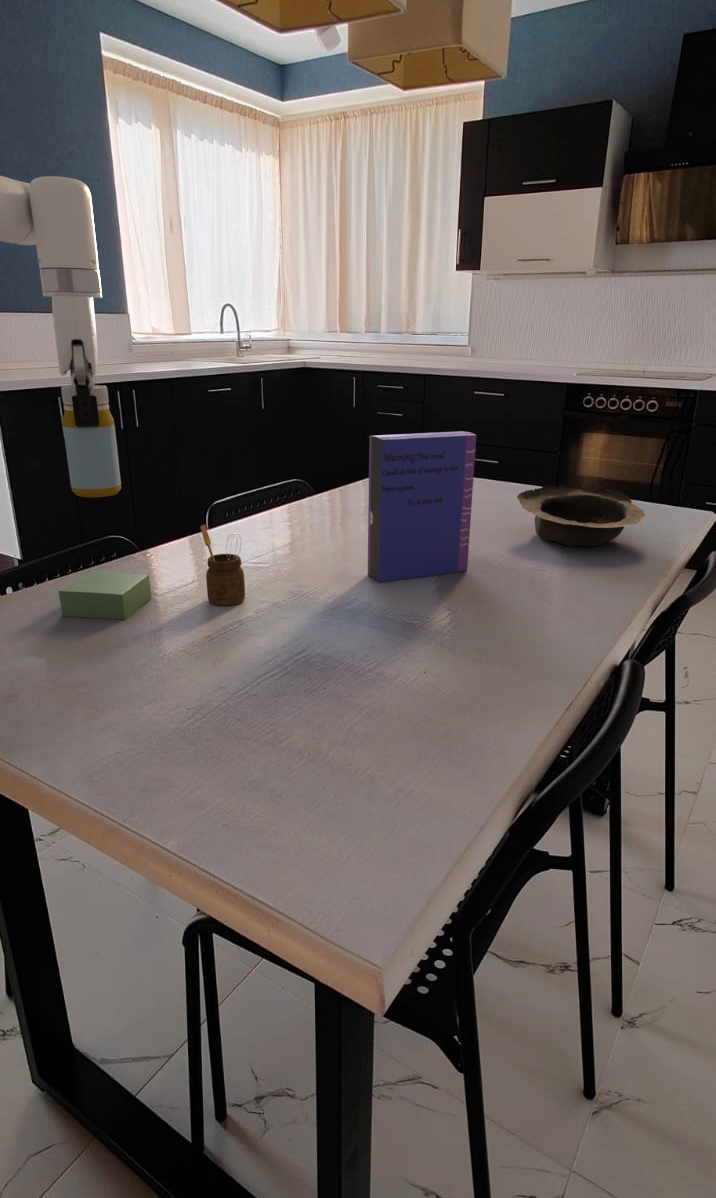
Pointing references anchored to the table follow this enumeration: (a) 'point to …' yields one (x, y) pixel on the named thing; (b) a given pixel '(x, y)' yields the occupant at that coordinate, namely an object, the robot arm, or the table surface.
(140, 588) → the green block
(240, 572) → the utensil holder
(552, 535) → the stone bowl
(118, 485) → the bottle
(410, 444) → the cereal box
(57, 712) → the table surface
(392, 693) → the table surface
